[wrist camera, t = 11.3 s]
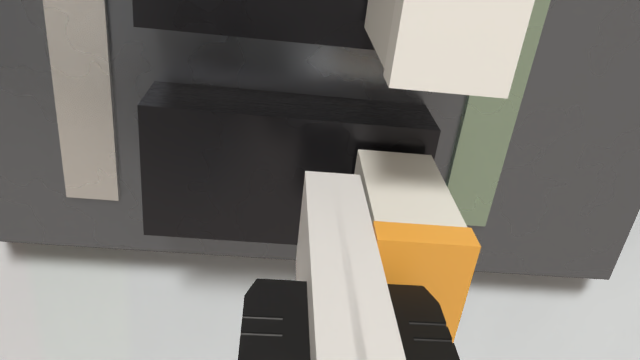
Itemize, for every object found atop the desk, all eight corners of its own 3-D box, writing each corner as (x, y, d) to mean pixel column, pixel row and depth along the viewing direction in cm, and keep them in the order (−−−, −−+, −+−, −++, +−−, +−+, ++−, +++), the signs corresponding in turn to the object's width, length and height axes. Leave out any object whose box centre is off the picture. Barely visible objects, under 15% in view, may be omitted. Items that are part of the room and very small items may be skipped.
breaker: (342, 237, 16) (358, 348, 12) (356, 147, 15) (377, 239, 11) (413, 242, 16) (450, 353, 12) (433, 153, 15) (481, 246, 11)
